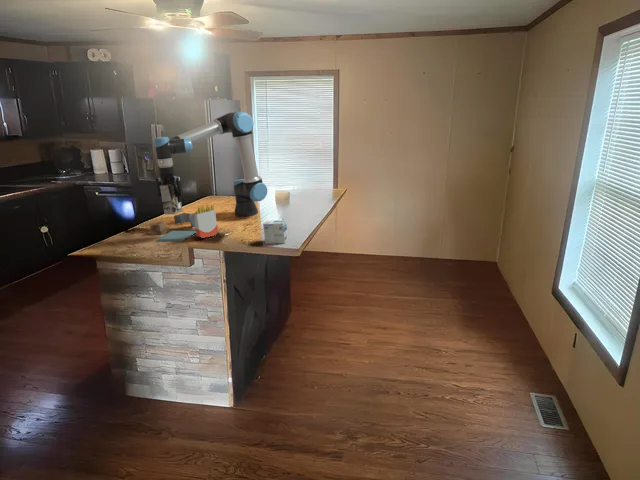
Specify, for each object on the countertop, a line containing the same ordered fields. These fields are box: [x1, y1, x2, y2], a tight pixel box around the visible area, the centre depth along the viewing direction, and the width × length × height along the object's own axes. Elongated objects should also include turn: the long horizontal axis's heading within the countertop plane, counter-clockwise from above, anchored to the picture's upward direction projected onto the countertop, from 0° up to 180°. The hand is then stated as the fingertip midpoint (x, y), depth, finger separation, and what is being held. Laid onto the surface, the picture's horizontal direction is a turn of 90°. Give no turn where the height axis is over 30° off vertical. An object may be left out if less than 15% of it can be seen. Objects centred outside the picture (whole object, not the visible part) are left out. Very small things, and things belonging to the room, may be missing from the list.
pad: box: [157, 230, 196, 242], centre depth 245 cm, size 16×16×1 cm
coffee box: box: [160, 182, 183, 216], centre depth 239 cm, size 9×6×16 cm
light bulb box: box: [262, 219, 289, 245], centre depth 222 cm, size 11×7×11 cm, turn 81°
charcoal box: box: [173, 212, 190, 224], centre depth 278 cm, size 6×8×5 cm
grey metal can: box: [189, 212, 195, 228], centre depth 263 cm, size 6×6×8 cm
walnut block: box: [149, 221, 167, 236], centre depth 255 cm, size 6×6×6 cm
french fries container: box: [194, 204, 219, 239], centre depth 237 cm, size 5×11×18 cm, turn 133°
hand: (173, 208), depth 241 cm, fingers closed on coffee box, 6 cm apart
